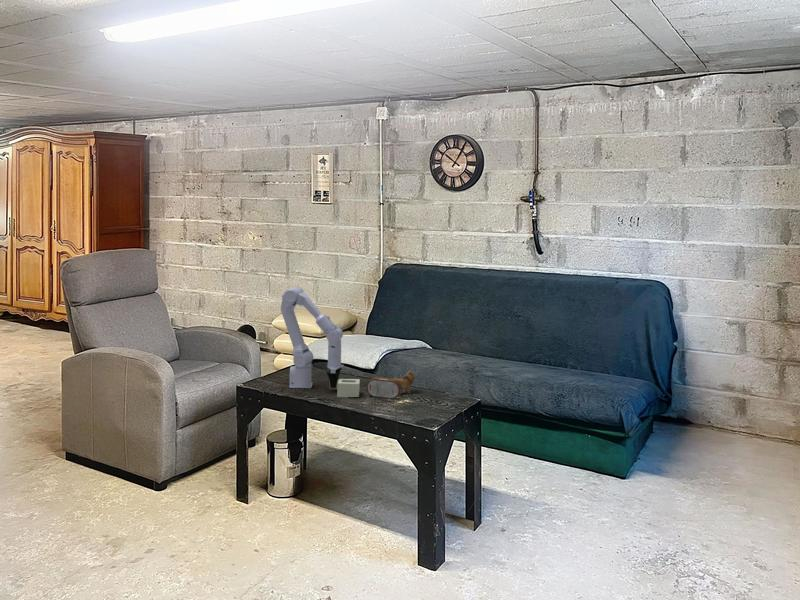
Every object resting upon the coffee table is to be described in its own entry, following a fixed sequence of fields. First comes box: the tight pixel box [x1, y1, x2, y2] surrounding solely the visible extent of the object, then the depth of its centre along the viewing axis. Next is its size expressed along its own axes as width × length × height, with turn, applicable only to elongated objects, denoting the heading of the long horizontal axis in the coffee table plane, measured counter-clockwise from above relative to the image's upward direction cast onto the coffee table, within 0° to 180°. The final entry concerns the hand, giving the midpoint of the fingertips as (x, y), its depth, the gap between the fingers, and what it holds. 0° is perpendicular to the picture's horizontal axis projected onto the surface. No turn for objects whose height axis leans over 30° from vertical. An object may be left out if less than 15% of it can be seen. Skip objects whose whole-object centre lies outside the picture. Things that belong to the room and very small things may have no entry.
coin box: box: [336, 378, 361, 398], centre depth 300 cm, size 9×8×6 cm
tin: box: [366, 376, 403, 400], centre depth 298 cm, size 15×3×8 cm, turn 74°
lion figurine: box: [394, 370, 416, 394], centre depth 306 cm, size 15×5×9 cm, turn 129°
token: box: [328, 379, 339, 390], centre depth 309 cm, size 4×2×4 cm, turn 91°
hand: (334, 385), depth 310 cm, fingers open, 7 cm apart
